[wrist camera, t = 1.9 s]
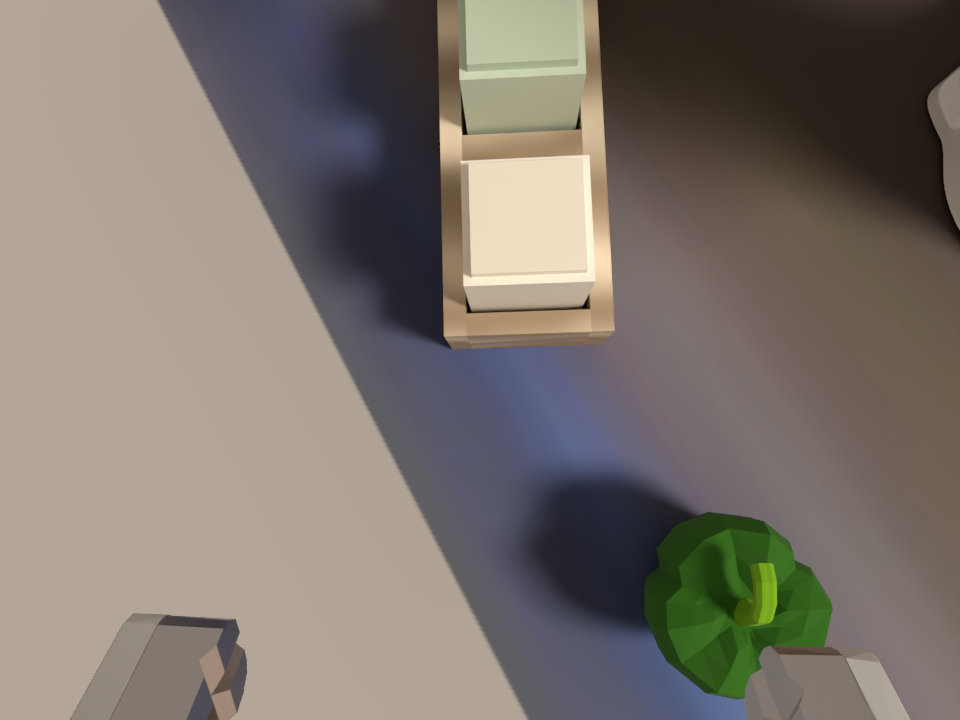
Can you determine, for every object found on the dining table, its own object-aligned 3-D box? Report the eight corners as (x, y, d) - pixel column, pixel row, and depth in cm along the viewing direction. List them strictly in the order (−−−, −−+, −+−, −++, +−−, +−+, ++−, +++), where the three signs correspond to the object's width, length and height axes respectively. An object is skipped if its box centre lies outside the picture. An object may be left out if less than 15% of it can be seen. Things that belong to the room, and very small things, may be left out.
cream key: (580, 309, 36) (597, 278, 29) (472, 313, 36) (462, 283, 29) (575, 204, 36) (590, 149, 29) (469, 209, 37) (459, 155, 30)
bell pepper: (748, 679, 36) (836, 769, 26) (609, 621, 37) (644, 688, 27) (795, 536, 37) (898, 572, 27) (658, 483, 38) (710, 498, 28)
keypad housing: (601, 344, 39) (614, 330, 34) (452, 349, 39) (444, 336, 34) (579, -94, 42) (588, -164, 38) (443, -85, 43) (434, -153, 38)
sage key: (573, 136, 37) (587, 66, 30) (468, 142, 37) (458, 73, 30) (569, 39, 38) (581, -53, 31) (466, 44, 38) (455, -45, 31)
